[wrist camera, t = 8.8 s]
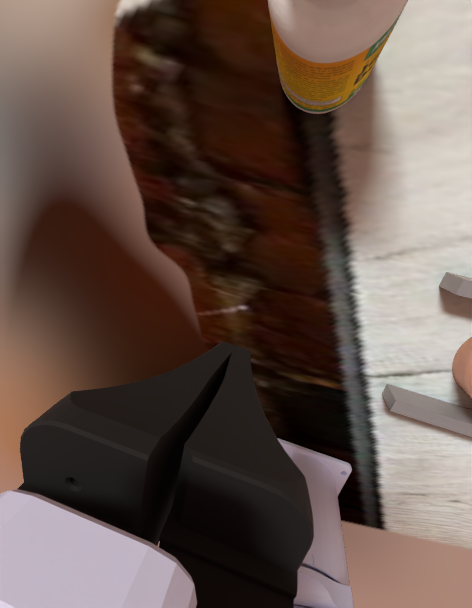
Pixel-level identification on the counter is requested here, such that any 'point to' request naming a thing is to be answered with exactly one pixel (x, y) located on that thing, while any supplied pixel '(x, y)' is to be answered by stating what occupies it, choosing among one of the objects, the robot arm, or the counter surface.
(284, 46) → the supplement bottle
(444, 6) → the counter surface
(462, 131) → the counter surface
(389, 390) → the holder
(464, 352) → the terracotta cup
